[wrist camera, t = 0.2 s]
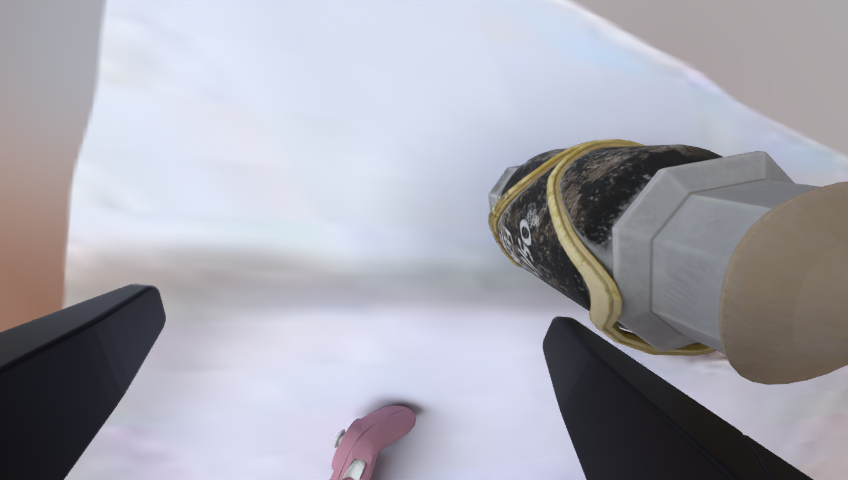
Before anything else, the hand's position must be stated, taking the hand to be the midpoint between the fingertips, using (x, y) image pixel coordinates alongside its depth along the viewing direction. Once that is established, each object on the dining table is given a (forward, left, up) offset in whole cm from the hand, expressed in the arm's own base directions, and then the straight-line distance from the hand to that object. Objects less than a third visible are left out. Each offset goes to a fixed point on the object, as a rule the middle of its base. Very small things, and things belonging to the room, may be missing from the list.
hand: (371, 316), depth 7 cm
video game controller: (-15, -13, -16) cm, 25 cm away
